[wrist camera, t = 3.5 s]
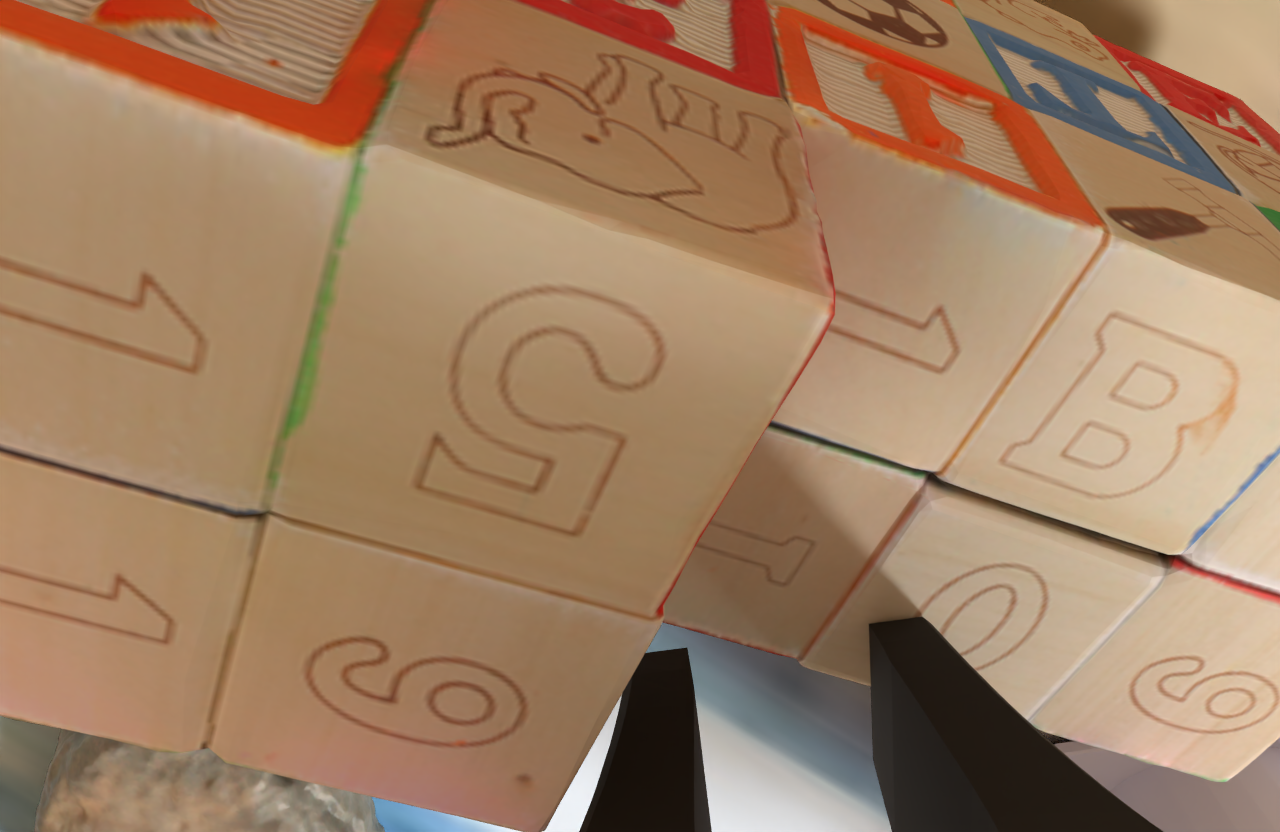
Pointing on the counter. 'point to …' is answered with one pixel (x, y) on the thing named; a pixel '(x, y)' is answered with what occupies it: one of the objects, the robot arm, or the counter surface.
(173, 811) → the long grey stone
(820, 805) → the counter surface
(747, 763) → the counter surface
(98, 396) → the stack of blocks
